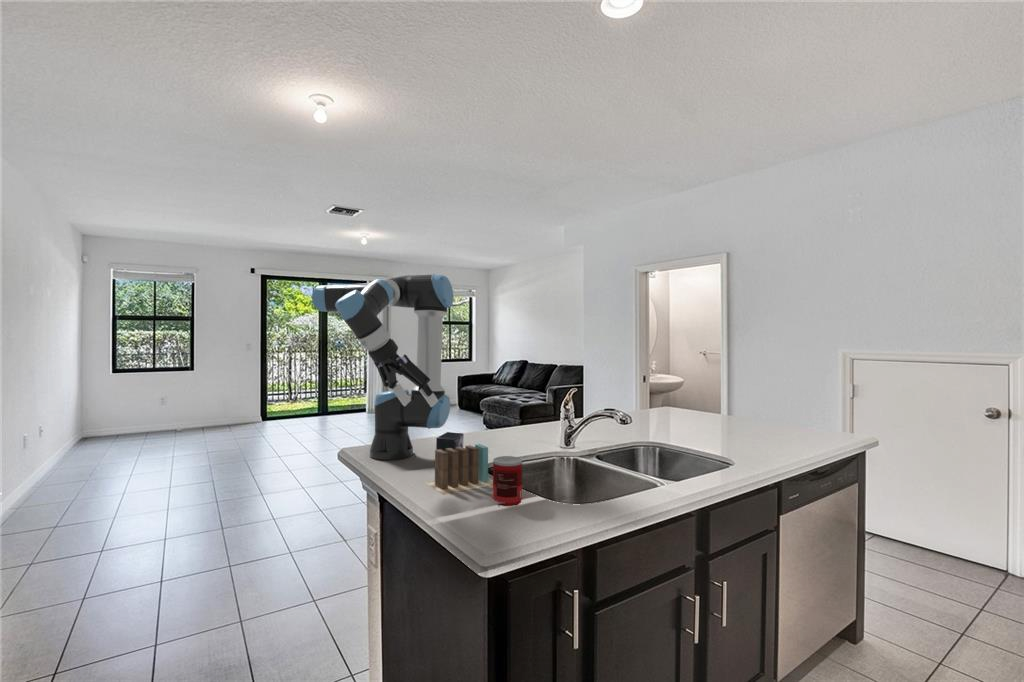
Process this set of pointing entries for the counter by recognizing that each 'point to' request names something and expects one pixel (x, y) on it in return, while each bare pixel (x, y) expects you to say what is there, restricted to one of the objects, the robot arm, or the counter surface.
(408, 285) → the robot arm
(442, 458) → the domino
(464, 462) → the domino
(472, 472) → the domino
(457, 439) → the small box
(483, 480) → the domino
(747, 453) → the counter surface
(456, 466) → the domino
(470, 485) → the board
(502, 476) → the canned food
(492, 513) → the counter surface
